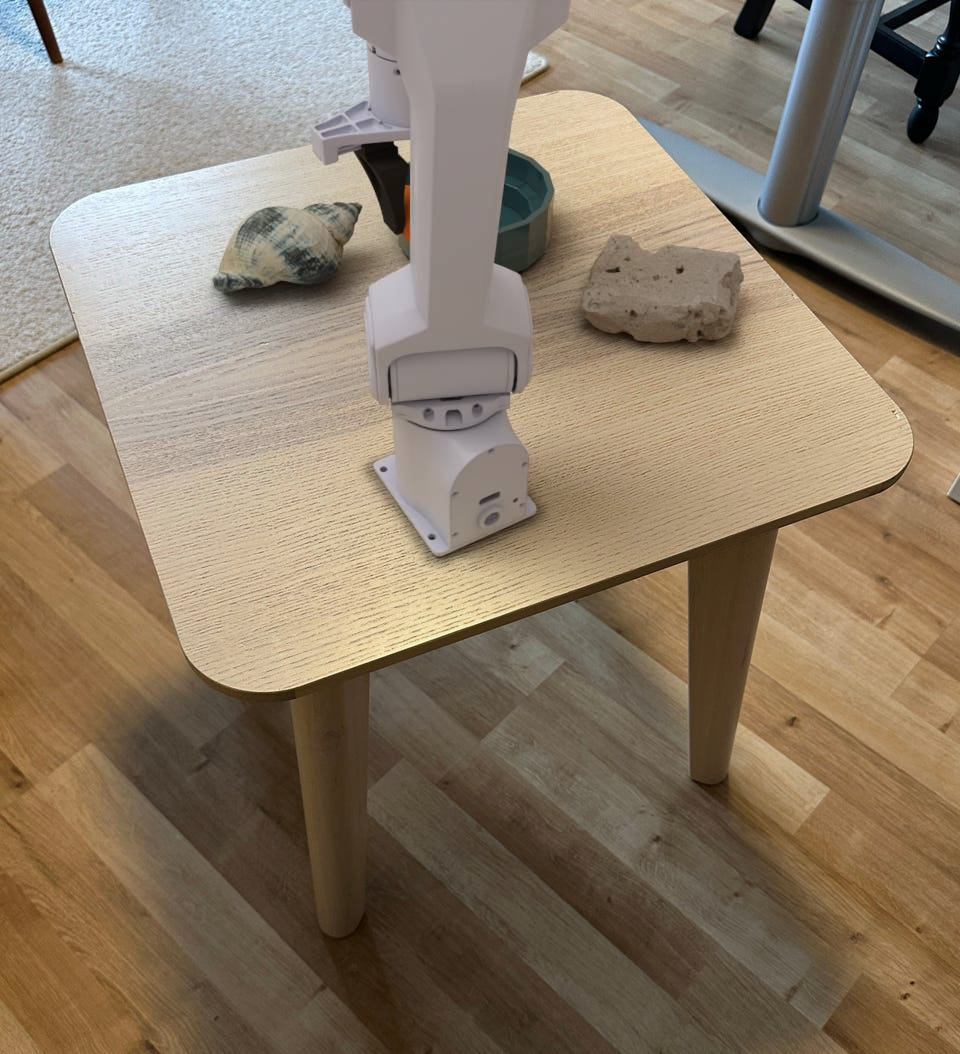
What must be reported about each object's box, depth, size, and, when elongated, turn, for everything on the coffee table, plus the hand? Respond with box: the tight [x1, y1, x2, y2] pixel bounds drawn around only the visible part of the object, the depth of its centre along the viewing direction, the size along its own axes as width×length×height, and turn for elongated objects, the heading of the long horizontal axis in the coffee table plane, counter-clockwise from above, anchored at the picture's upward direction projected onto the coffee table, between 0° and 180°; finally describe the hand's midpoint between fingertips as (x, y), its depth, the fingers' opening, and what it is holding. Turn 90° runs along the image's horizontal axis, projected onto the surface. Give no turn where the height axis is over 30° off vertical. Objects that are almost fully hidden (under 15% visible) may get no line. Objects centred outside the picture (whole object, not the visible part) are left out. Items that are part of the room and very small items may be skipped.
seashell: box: [211, 201, 363, 294], centre depth 88 cm, size 6×8×12 cm
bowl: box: [396, 147, 556, 273], centre depth 92 cm, size 13×13×5 cm
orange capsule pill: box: [402, 185, 410, 243], centre depth 81 cm, size 6×3×3 cm, turn 31°
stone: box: [578, 233, 745, 343], centre depth 86 cm, size 13×6×10 cm
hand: (416, 219), depth 81 cm, fingers closed on orange capsule pill, 3 cm apart
